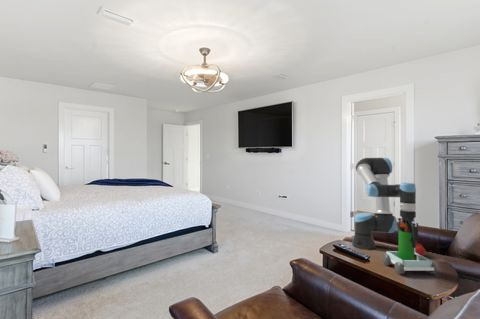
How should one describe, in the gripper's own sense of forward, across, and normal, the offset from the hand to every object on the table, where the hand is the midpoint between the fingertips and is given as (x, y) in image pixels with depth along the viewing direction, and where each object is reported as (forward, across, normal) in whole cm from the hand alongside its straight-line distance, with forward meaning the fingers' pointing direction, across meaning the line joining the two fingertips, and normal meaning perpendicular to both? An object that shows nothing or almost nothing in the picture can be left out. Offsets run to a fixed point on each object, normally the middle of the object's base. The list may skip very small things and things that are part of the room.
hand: (407, 250), depth 145 cm
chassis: (+11, 0, 0) cm, 11 cm away
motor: (+5, 0, 0) cm, 5 cm away
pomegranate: (+11, -22, +20) cm, 32 cm away
